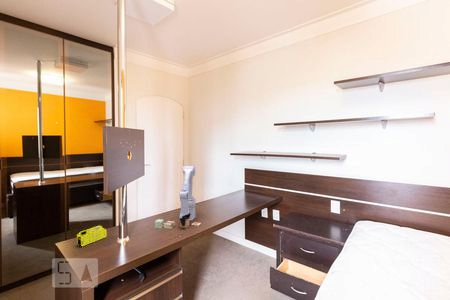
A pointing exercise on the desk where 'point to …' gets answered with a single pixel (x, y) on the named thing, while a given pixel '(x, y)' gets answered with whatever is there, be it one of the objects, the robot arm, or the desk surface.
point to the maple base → (169, 224)
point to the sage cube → (159, 223)
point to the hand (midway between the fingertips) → (185, 224)
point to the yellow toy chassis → (91, 235)
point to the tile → (196, 223)
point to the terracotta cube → (186, 223)
